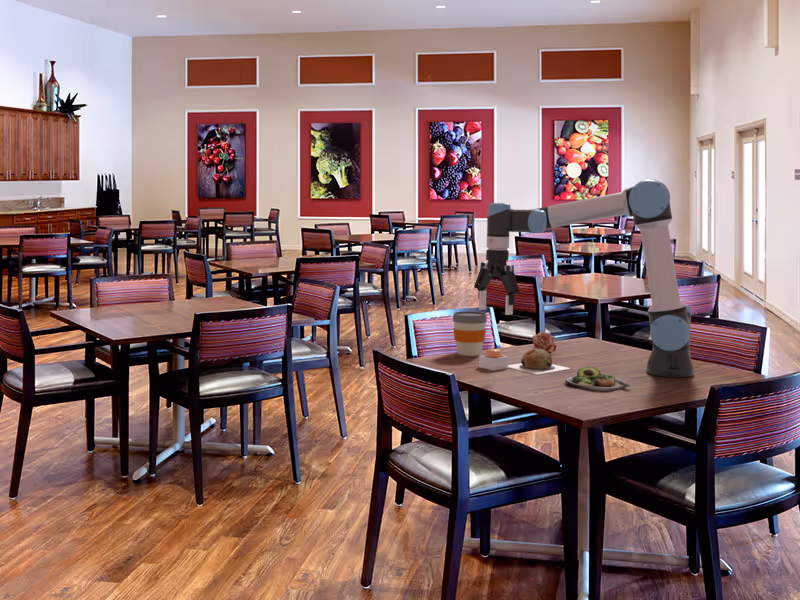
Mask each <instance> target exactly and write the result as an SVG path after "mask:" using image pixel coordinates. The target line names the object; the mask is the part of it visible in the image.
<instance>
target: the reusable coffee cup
mask: <svg viewBox="0 0 800 600" xmlns="http://www.w3.org/2000/svg"><path fill="white" fill-rule="evenodd" d="M452 321H453V336H454V337H453V339H454V341H455V346H456V347H455V348H456V354H457V355H459V354H460V356H466V357H473V356H475V357H477V356H480V355H482V351H483V345H484V341H485V338H486V331H487V328H486V325H487V321H488V318H487V313H486V312H481V311H472V310H471V311H470V310H469V311H467V310H465V311H455V312H453V317H452Z"/></svg>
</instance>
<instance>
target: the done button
mask: <svg viewBox="0 0 800 600" xmlns="http://www.w3.org/2000/svg"><path fill="white" fill-rule="evenodd" d="M485 353H486V354H485V355H486V357H490V358H499V357H501V355H502V350H501V349H500V348H499V349H497V348H488V349H486V352H485Z"/></svg>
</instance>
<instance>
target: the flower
mask: <svg viewBox="0 0 800 600" xmlns="http://www.w3.org/2000/svg"><path fill="white" fill-rule="evenodd" d="M555 342H556V337H555V336H553V335H552V333H549V332H545V331H540V332H538V333H537V334H533V336H532V343H533V346H534V347H533V346H529V347H530V348H533V349H541V350H545V351H546V352H547V353H549V355H550V356H551V354H552V353H554V352H556V351H557V344H556V343H555Z"/></svg>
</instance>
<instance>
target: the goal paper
mask: <svg viewBox="0 0 800 600" xmlns="http://www.w3.org/2000/svg"><path fill="white" fill-rule="evenodd" d="M507 369H511V370H514V371H515V370H516V371H519V372H523V373H528V374H531V375H532V374H533V375H536V376H539V375H546V374H552V373H556V372H557V373H558V372H564V371H569V370H572V368H571V367H566V366H562V365H558V364H553V363H552V366H551V367H550V368H548V369H541V370H540V369H529V368H525V367H524V366H523V364H521V362H520V363H514V364H508V368H507Z"/></svg>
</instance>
